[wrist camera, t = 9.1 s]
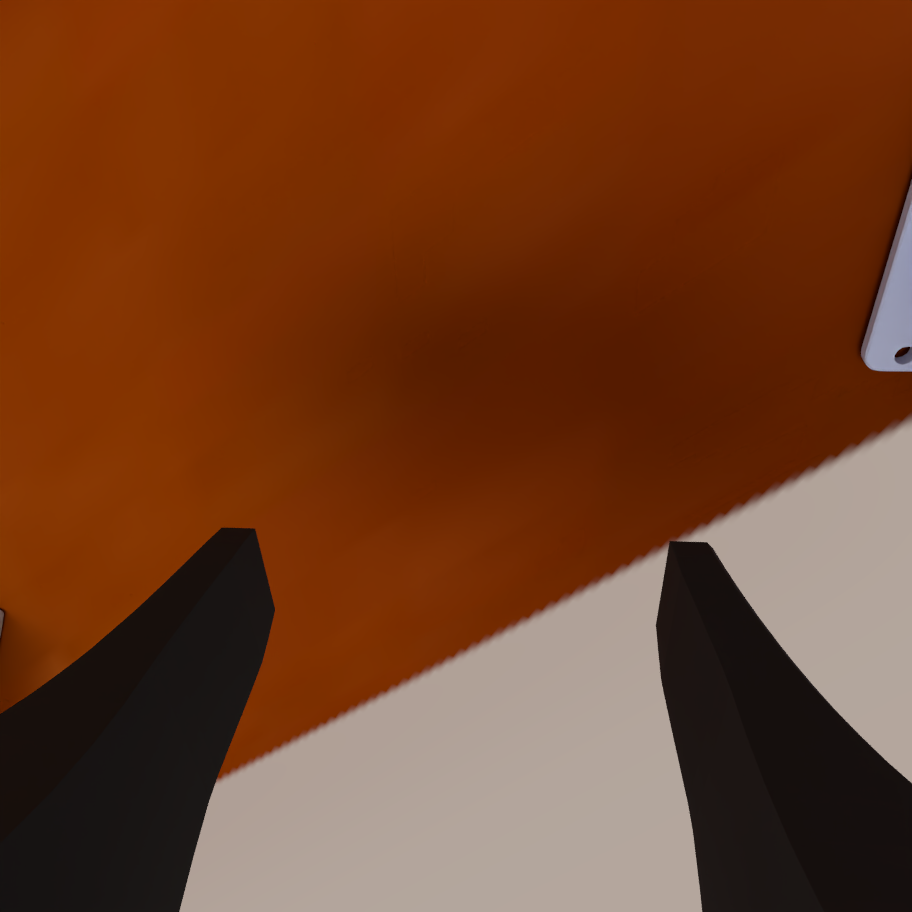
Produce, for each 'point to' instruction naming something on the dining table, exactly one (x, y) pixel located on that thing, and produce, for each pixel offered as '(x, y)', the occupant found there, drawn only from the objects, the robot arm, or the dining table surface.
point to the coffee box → (1, 620)
